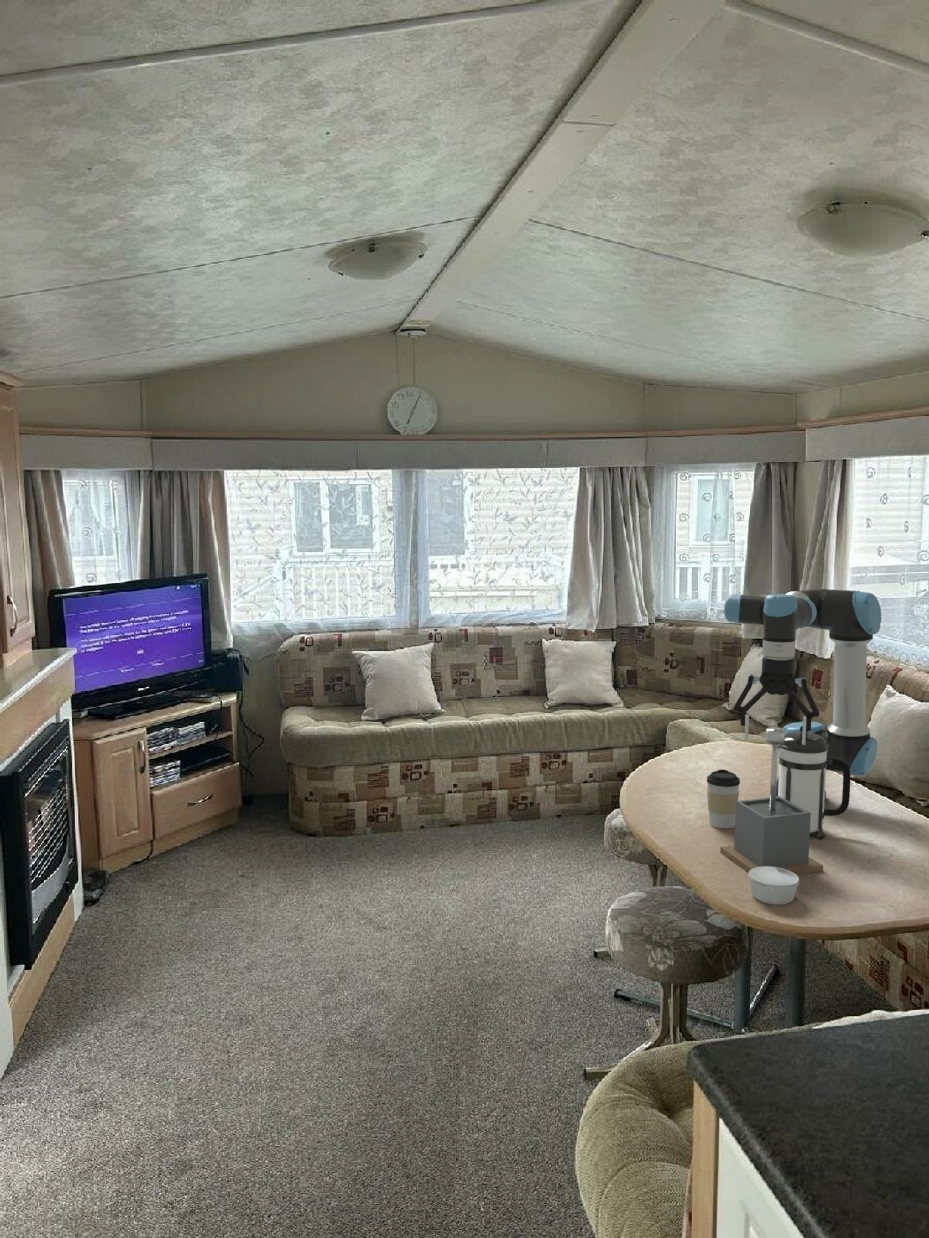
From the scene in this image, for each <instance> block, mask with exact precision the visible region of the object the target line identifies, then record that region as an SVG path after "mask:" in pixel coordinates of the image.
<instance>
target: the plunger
mask: <svg viewBox="0 0 929 1238" xmlns="http://www.w3.org/2000/svg"><path fill="white" fill-rule="evenodd" d="M783 728H784V727H776V726H770V727H766V729H765V731H766V732H765V742H766V743H768V744H770V745H771V763H770V765H771V766H770V783H769V784H770V789H769V797H770V802H767V803H758V804H749V805H747V806H749V807H751V808H752V809H754V810H756V811H757V812H759V813H761V814H762V815H764V816H774V815H783V814H791V813H798V812H797V811H795V810H793V809H791V808H789V807H788V806H786V805H784V804H782V803H780V802H779V801H776V782H777V779H778V777H777V776H778V757H779V754H778V745H779V744H784V740H785V729H783Z"/></svg>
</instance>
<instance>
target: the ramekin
mask: <svg viewBox="0 0 929 1238" xmlns="http://www.w3.org/2000/svg"><path fill="white" fill-rule="evenodd" d="M747 873H748V872H747ZM747 875H748V880H749V886H750V892H751V894H752V896H753V898H755V899H756V900H758V901H759V902H761V903H764V904H767V905H776V906H777V905H787V904H789V903H791V902H792V901H794V900H795V897H796V893H797V890H798V886H799V884H800V878H799V875H796V874H794V873H793V872H791V871H789V870H786V869H783V868H778V867H770V866H763V867H756V868H753V869H751V870H750V871H749V873H748V874H747Z"/></svg>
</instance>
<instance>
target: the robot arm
mask: <svg viewBox="0 0 929 1238" xmlns="http://www.w3.org/2000/svg"><path fill="white" fill-rule="evenodd" d="M723 608H724V610H723V612H724V613H723V614H724V617H725V619H726V620H727V622H729V623H735V624H741V625H742V624H743V625H753V626H755V625H756V626H763V635H762V636H763V637H762V655H763V657H762V658H761V660H762V661H761V675H754V674H752V673H749V675H748V677H747V683H746V685H745V687H744V688H743V690H742V692H741V694H740V695H739V697H738V698H737V700H736V702H735V703H734V705H733V710H734V712H735V711H736V712H737V713H739V714H740V727H744V741H748V740H749V731H750V730H749V729H750V727H749V725H750V723H749V722H750V712H748V711H749V710H750V709H751V708H753V706H754V705H756V703H757V702H758V701H760V700H761V699H762V697H763V696H765V694H769V695H771V696H772V695H778V696H784V695H787V696H788V697H789V698H790V699H791V700H792V701H793V703H794V704H795V705H796V706H797V707H798V708H797V709H799V710H800V711H801V712H802V714H803V716H802V717H803V718H802V721H798V722H792V723H791V722H790V723H788V724H786V725H785V726H783V727H782V728H783V729H785V735H786V734H788V733H792V732H801V731H800V727H801V726H803V732H802V745H805V739H806V731H808V733H813V734H817V735H819V736H821V737H823V738H824V739H825V741H826V743H827V744H828V746H829V748H828V751H827V757H826V758H828V759H829V758H830V759H833V758H837V759H840V760H842V761H844V762H845V763H846V765H847V766H848V768H849V770H850V776H856V777H858V776H859V777H864V776H866V775H868V773H870V771H871V769H872V768H873V766H874V764H875V763H874V762H875V760H876V757H877V753H878V741H877V739H876V738H875V737H873V736H871V729H870V727H868V725H866V697H867V696H866V695H867V693H866V691H867V661H868V660H867V657H868V654H867V652H868V644H869V643H870V642H871V641H873V639H874V635H876V634H878V633H879V631H880V630H881V624H882V610H881V605H880V601H879V599H878V598H877V596H876V595H875V594H874V593H871V592H865V591H860V590H846V589H845V590H843V589H827V588H816V589H815V588H813V589H804V590H803V589H802V590H794V591H790V592H787V593H774V594H773V593H771V594H759V595H758V594H754V595H753V594H751V595H749V594H742V593H741V594H730V595H728V596H727V598H726V600H725V602H724V607H723ZM806 627H807V628H812V629H818V630H826V631H828V632H829V633H828V634H829V637H828V638H829V639H830V640H831V641H832V642H833V644H834V652H833V653H834V655H833V656H834V658H833V659H834V664H833V665H834V666H833V668H834V669H833V710H832V712H833V715H832V723H830V724H829V725H828V726H827V728H826V729H824V728H825V727H824V725H823V724H822V723H820V722H817V721H812V719H813V718H818V717H819V716H820V710H819V708H818V706H817V704H816V701H815V700H814V697H813V695H812V694H811V692H810V689H809V687H808V681H807V679H808V678H807V677H806V676H803V677H801V678H800V677H799V678H795V673H794V672H795V659H794V657H795V653H796V652H795V651H796V650H795V649H796V630H798V629H804V628H806ZM757 682H759V683H760V684H761V686H762V687H761V688H760V689H759V690H758V691H757V692H756V693H755V694H754V696H752V698H751V699H749V700H748V701H747V702H746V703H745V704H744V705H743V706H742V704H743V702H744V701H745V699H746V697H747V696H748V694H749V692H750V691H751V689H752V687H753V685H756V684H757ZM795 684H797V685H798V687H799V688H801V690H802V692H803V694H804V696H805V699H806V701H807V703H808V704H809V707H810V709H811V711H810V710H809V708H808V706H806V705H805V703H804V702H803V701H802V700H801V698H800V697H799V696H798V695H797V694H796V693H795V690H794V689H792V688H793V687H794V686H795ZM826 771H828V772H836V773H840V774H843V771H842V769H841V767H839V766H837V765H833V764H827V767H826ZM777 776H778V777H777V781H776V797H778V787H779V775H777ZM826 801H827V792H826V790H825V799H824V803H826Z"/></svg>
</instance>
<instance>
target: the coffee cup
mask: <svg viewBox="0 0 929 1238" xmlns="http://www.w3.org/2000/svg"><path fill="white" fill-rule="evenodd" d="M706 784H707V789H706V794H707V810H708V821H709V826H711V827H713V828H715V827H716V829H721V828H729V829H732V828H735V810H736V801H739V795H740V789H739V787H740V784H741V779H740V778H739V777H738V776H737V775H736V774H735V773H734V772H731V771H729V770H727V769H718V770H716V771H712V772H711V773H710V774H709V775H707V777H706Z"/></svg>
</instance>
